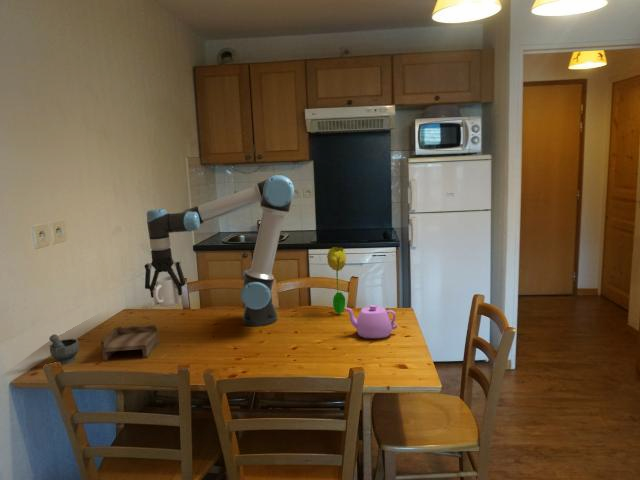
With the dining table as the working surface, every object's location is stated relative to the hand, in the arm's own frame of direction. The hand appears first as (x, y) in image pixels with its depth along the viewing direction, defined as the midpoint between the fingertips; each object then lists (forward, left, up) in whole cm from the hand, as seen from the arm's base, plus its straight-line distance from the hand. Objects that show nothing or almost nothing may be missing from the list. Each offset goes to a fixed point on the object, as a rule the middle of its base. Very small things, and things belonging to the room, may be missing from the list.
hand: (167, 304), depth 193 cm
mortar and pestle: (+35, +17, -15) cm, 41 cm away
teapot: (-80, +12, -15) cm, 82 cm away
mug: (+1, 0, 0) cm, 1 cm away
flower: (-70, -15, -15) cm, 73 cm away
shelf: (+12, +11, -15) cm, 22 cm away
